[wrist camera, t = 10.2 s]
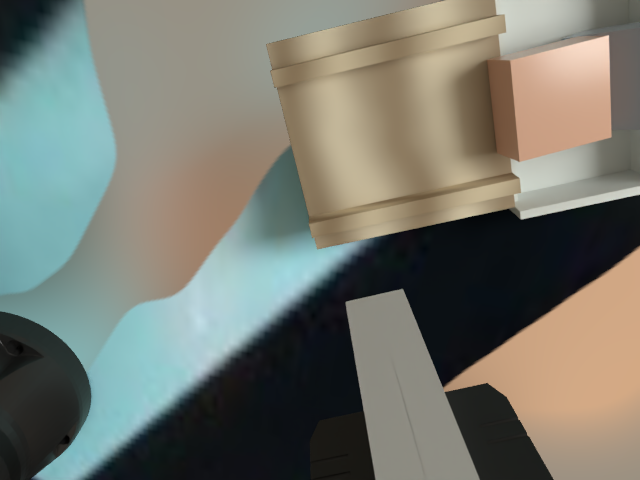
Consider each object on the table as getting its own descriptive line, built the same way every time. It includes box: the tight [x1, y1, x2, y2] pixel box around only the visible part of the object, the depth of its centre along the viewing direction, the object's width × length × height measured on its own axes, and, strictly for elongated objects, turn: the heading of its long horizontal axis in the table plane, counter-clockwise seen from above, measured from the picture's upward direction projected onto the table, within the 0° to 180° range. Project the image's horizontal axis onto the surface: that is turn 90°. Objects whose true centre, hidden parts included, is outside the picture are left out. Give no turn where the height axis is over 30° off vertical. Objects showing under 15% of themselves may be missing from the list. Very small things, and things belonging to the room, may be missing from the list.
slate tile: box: [561, 22, 640, 130], centre depth 34 cm, size 6×6×3 cm
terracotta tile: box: [487, 35, 612, 162], centre depth 33 cm, size 6×6×3 cm
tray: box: [495, 0, 640, 219], centre depth 35 cm, size 10×16×4 cm, turn 13°
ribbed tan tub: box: [266, 0, 521, 249], centre depth 36 cm, size 14×14×6 cm
